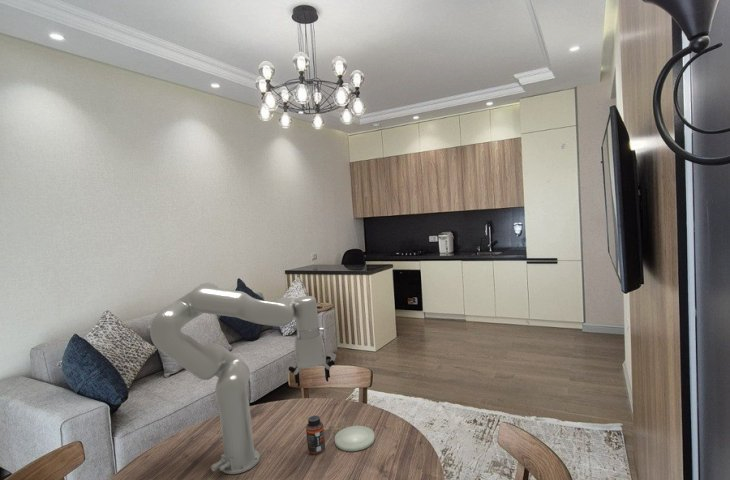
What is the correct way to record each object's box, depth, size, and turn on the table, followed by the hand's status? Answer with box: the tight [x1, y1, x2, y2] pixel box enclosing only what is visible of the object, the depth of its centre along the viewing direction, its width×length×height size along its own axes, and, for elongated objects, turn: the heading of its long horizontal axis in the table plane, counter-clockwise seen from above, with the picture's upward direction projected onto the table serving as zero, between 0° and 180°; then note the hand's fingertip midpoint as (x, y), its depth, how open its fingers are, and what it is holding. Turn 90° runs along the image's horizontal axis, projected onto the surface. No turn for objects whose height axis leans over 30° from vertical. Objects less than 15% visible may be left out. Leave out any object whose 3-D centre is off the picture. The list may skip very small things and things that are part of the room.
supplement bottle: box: [305, 415, 326, 455], centre depth 137 cm, size 6×6×11 cm
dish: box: [334, 425, 375, 452], centre depth 141 cm, size 14×14×2 cm
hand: (313, 382), depth 136 cm, fingers open, 9 cm apart
